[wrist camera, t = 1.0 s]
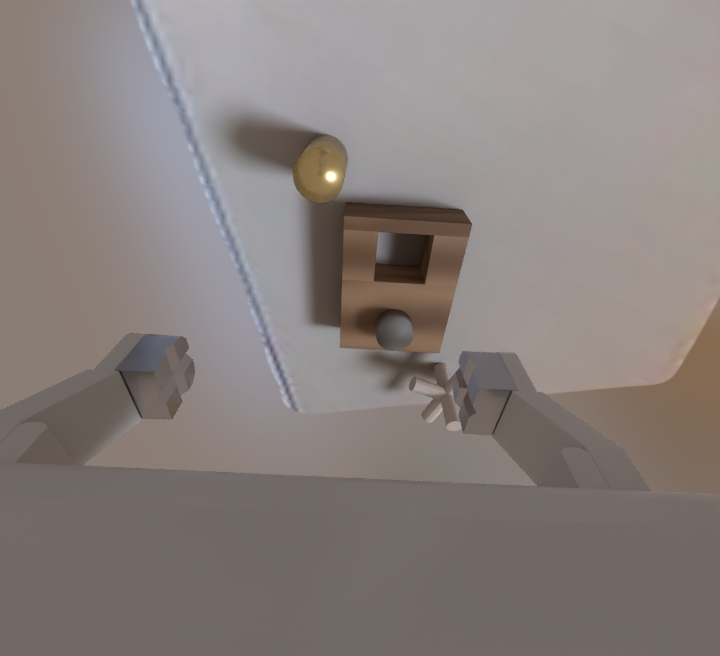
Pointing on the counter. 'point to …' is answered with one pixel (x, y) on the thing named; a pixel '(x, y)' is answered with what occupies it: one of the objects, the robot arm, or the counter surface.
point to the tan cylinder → (321, 169)
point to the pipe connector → (439, 397)
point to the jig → (399, 278)
